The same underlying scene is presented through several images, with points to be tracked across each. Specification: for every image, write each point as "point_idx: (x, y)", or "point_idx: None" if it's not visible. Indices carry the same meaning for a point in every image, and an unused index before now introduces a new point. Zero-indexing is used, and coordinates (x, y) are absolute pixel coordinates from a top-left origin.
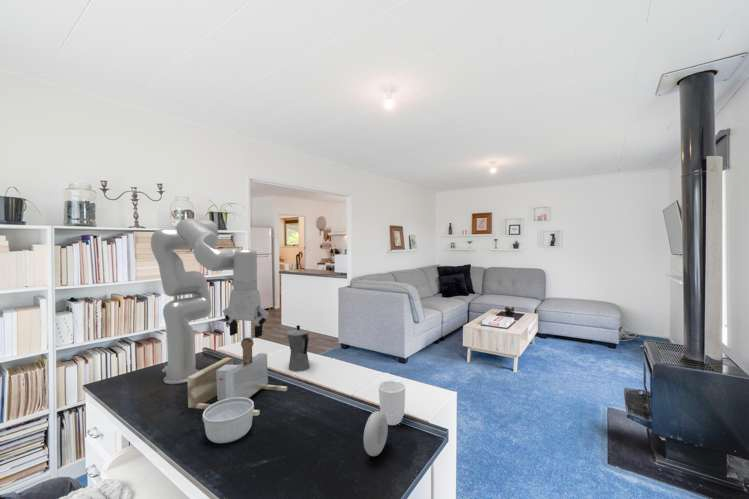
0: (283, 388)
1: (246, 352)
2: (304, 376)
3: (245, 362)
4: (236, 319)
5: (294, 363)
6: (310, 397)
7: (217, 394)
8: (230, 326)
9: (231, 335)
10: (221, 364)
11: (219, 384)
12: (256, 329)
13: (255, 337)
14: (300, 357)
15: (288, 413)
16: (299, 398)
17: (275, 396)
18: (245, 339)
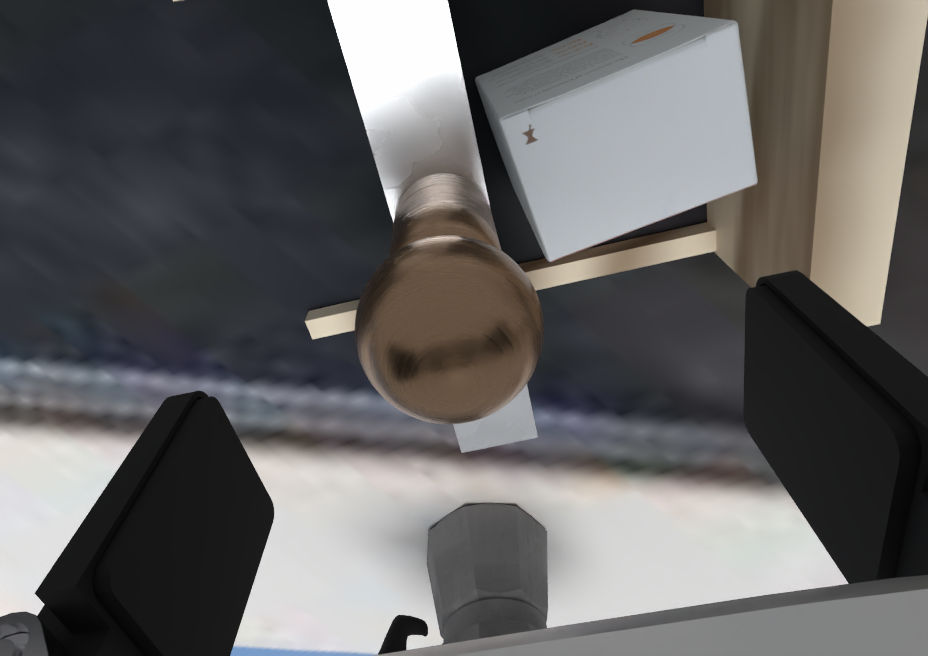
0: (320, 316)
1: (409, 231)
2: (366, 481)
3: (426, 182)
4: (708, 612)
5: (478, 542)
6: (108, 316)
7: (647, 11)
8: (905, 388)
9: (757, 281)
10: (816, 189)
11: (654, 24)
12: (86, 523)
13: (192, 393)
14: (450, 589)
15: (30, 102)
16: (153, 280)
17: (308, 236)
18: (431, 327)
